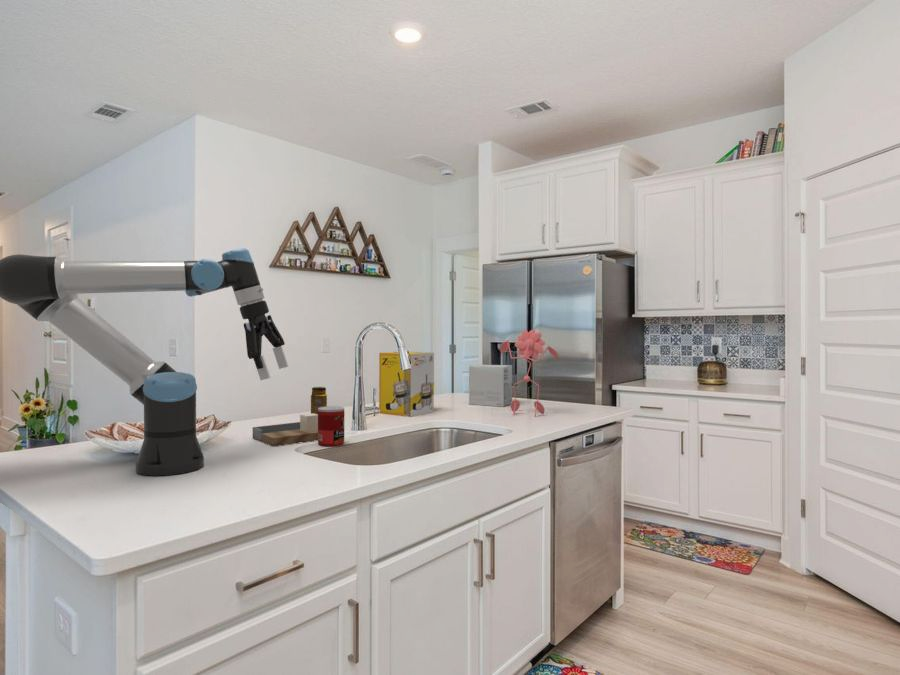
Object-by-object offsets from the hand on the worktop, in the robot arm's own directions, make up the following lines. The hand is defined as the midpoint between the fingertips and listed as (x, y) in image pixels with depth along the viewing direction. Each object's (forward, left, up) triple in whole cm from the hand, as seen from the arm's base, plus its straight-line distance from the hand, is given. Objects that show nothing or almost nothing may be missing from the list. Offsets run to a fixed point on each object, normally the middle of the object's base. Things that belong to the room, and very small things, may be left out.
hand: (275, 373), depth 163 cm
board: (+10, +7, -22) cm, 25 cm away
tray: (+10, +15, -22) cm, 28 cm away
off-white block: (+14, +7, -19) cm, 25 cm away
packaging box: (+70, +32, -22) cm, 80 cm away
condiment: (+34, +41, -22) cm, 58 cm away
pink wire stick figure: (+108, -2, -22) cm, 110 cm away
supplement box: (+116, +29, -22) cm, 122 cm away
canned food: (+15, -5, -22) cm, 27 cm away
